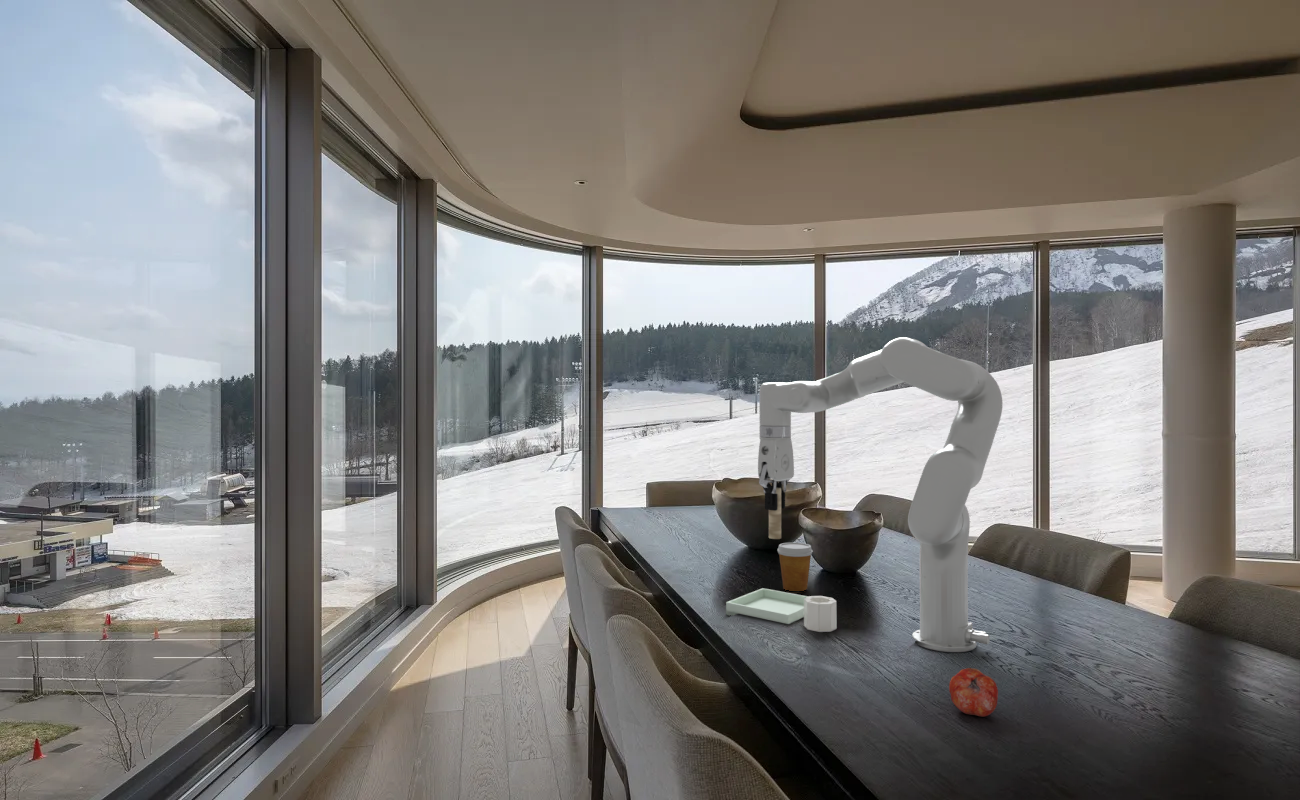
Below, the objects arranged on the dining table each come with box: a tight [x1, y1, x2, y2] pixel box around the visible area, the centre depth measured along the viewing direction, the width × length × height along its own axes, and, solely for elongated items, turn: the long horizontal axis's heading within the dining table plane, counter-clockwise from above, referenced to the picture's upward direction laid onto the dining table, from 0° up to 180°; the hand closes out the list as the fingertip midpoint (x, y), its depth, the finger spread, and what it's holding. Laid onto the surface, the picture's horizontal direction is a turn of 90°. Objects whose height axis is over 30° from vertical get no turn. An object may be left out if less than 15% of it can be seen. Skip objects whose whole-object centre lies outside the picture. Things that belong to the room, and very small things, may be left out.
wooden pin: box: [768, 488, 782, 540], centre depth 176 cm, size 3×3×12 cm
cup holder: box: [803, 595, 838, 633], centre depth 162 cm, size 7×7×7 cm
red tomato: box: [948, 667, 999, 717], centre depth 120 cm, size 7×7×10 cm
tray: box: [725, 587, 809, 625], centre depth 177 cm, size 17×17×3 cm
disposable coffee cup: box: [776, 542, 814, 592], centre depth 199 cm, size 10×10×12 cm
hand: (775, 508), depth 176 cm, fingers closed on wooden pin, 3 cm apart
